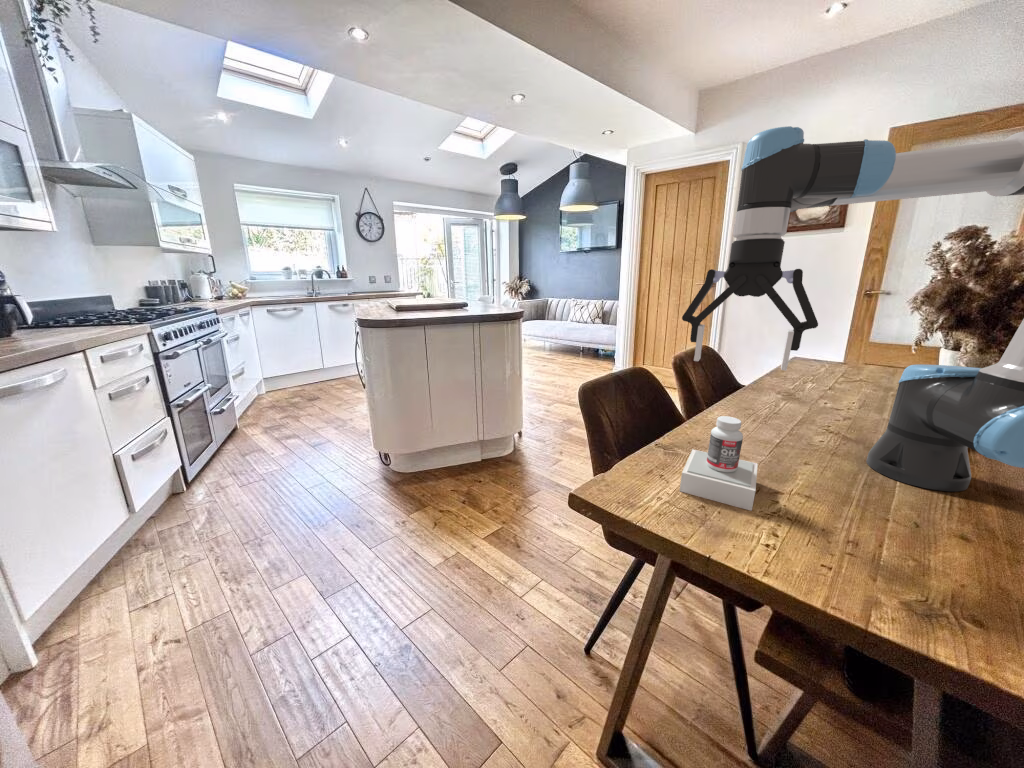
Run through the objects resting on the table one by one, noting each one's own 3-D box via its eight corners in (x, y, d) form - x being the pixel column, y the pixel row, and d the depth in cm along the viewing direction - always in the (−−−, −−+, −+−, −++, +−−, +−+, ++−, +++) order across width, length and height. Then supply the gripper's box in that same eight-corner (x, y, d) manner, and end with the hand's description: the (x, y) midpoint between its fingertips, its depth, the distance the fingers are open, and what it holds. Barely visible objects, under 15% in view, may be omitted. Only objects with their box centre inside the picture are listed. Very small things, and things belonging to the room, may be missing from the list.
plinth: (754, 481, 79) (758, 462, 78) (751, 510, 69) (755, 489, 68) (690, 466, 85) (692, 447, 84) (679, 491, 75) (682, 471, 74)
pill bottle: (721, 475, 73) (729, 426, 70) (699, 462, 78) (706, 416, 75) (744, 471, 74) (752, 422, 71) (721, 458, 79) (729, 413, 76)
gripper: (852, 236, 61) (822, 368, 67) (681, 243, 74) (669, 353, 80) (860, 232, 55) (828, 378, 61) (673, 240, 68) (661, 360, 74)
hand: (738, 364), depth 70 cm, fingers open, 13 cm apart
